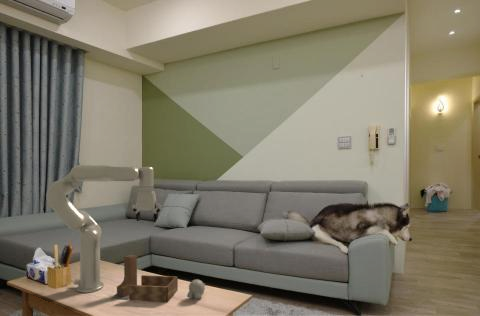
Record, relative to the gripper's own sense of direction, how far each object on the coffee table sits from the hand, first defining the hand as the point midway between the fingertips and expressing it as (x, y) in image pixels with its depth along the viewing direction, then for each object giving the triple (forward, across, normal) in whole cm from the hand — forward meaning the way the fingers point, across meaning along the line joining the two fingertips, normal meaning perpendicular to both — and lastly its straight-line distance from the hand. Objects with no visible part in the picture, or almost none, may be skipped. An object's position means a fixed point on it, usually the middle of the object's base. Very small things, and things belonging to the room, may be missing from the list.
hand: (147, 220), depth 176 cm
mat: (+33, -4, -17) cm, 38 cm away
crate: (+33, +11, -17) cm, 39 cm away
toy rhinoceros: (+34, +33, -16) cm, 50 cm away
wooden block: (+33, -3, -17) cm, 37 cm away
